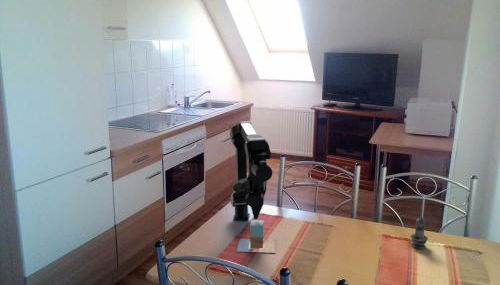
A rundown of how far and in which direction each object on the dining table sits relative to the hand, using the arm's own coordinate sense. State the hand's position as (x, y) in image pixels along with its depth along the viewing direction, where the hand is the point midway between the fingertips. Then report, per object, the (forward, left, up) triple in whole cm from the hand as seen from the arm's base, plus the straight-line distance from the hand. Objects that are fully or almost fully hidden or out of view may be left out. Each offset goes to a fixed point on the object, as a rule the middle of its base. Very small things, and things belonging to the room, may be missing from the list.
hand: (256, 213), depth 150 cm
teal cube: (0, 0, -8) cm, 8 cm away
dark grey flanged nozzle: (-5, +59, -13) cm, 61 cm away
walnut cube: (0, 0, -13) cm, 13 cm away
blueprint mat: (0, 0, -13) cm, 13 cm away
